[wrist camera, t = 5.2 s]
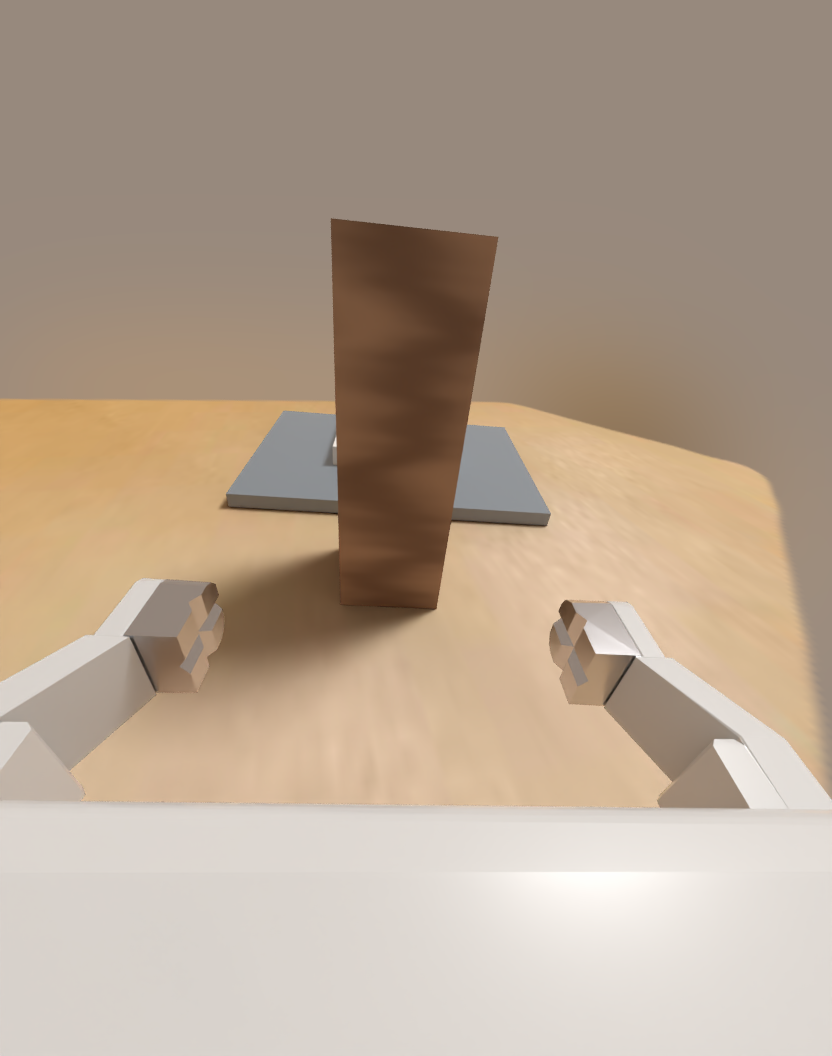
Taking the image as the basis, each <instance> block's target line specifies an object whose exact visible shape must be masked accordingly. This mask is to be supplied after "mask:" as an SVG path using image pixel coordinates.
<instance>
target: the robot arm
mask: <svg viewBox="0 0 832 1056" xmlns="http://www.w3.org/2000/svg"><path fill="white" fill-rule="evenodd" d="M218 596H219V594H218V591H217V588H216V584H213V583H209V582H196V581H182V580H168V579H166V580H161V579H148V578H142V579H140V580H138V581H137V582H135V583H134V585H133V586H132V587H131V588H130V590H129V591H128V592H127V594H126V595H125V596H124V597H123V599H122V600H121V601H120V602H119V604H118V605H117V606H116V607H115V609H114V610H113V611H112V613H111V614H110V615H109V616H108V618H107V619H106V620H105V621H104V623H103V624H102V625H101V626H100V628H99V629H98V630H97V631H96V633H95V634H94V635H85V636H83V637H81V638H80V639H78V640H76V641H74V642H72V643H71V644H69V645H67V646H65V647H63V648H62V649H60V650H58V651H56V652H54V653H52V654H51V655H49V656H47V657H45V658H43V659H42V660H40V661H38V662H36V663H34V664H33V665H31V666H29V667H27V668H25V669H24V670H22V671H20V672H18V673H16V674H15V675H13V676H11V677H9V678H7V679H6V680H4V681H2V682H0V1056H832V800H831V798H830V797H829V796H828V795H827V793H826V792H825V791H824V789H823V788H822V787H821V785H820V784H819V783H818V781H817V780H816V779H815V777H814V776H813V775H812V774H811V772H810V771H809V770H808V768H807V767H806V766H805V764H804V763H803V762H802V760H801V759H800V758H799V757H798V755H797V754H796V753H795V751H794V750H793V749H792V747H791V746H790V745H789V743H788V742H787V741H786V739H784V738H783V737H782V736H780V735H779V734H777V733H776V732H775V731H773V730H772V729H770V728H769V727H768V726H766V725H765V724H763V723H762V722H761V721H759V720H758V719H756V718H755V717H754V716H752V715H751V714H749V713H748V712H747V711H745V710H744V709H742V708H741V707H740V706H738V705H737V704H735V703H734V702H733V701H731V700H730V699H728V698H727V697H726V696H724V695H723V694H721V693H720V692H719V691H717V690H716V689H714V688H713V687H712V686H710V685H709V684H707V683H706V682H705V681H703V680H702V679H700V678H699V677H698V676H696V675H695V674H693V673H692V672H691V671H689V670H688V669H686V668H685V667H684V666H682V665H681V664H679V663H678V662H677V661H675V660H674V659H672V658H665V656H664V655H663V653H662V652H661V650H660V648H659V647H658V645H657V644H656V642H655V640H654V639H653V637H652V636H651V634H650V633H649V631H648V629H647V628H646V626H645V625H644V623H643V622H642V620H641V618H640V617H639V615H638V614H637V612H636V610H635V609H634V607H633V606H632V605H631V604H629V603H628V602H610V601H607V602H604V601H583V600H565V601H564V602H563V603H562V604H561V607H560V609H559V613H560V616H561V619H559V620H558V621H557V622H555V623H554V624H553V626H552V629H551V631H550V638H549V646H550V652H551V656H552V659H553V662H554V663H555V664H556V665H557V666H559V667H560V668H561V669H562V670H563V671H562V674H561V676H560V678H559V679H560V681H561V684H562V687H563V690H564V692H565V695H566V698H567V701H568V703H569V704H579V705H596V706H605V707H604V708H605V710H606V711H607V712H608V713H609V714H610V715H611V716H612V717H613V718H614V719H615V720H616V721H617V722H618V724H619V725H620V726H621V727H622V728H623V729H624V730H625V731H626V732H627V733H628V734H629V735H630V736H631V738H632V739H633V740H634V741H635V742H636V743H637V744H638V745H639V746H640V747H641V748H642V749H643V750H644V752H645V753H646V754H647V755H648V756H649V757H650V758H651V759H652V760H653V761H654V762H655V763H656V765H657V766H658V767H659V768H660V769H661V770H662V771H663V772H664V773H665V774H666V775H667V776H668V777H669V779H670V780H671V781H672V783H671V784H670V785H669V786H668V787H667V788H666V789H665V790H664V791H663V792H662V793H661V794H660V796H659V798H658V800H657V802H658V804H659V806H660V808H652V807H566V806H480V805H393V804H306V803H215V802H124V801H81V800H82V799H83V797H84V795H85V792H84V789H83V787H82V785H81V784H80V783H79V782H78V781H77V779H76V778H75V777H74V776H73V775H72V774H71V772H70V770H71V769H72V768H73V767H74V766H75V765H77V764H78V763H79V762H80V761H81V760H82V759H83V758H85V757H86V756H87V755H88V754H89V753H90V752H91V751H93V750H94V749H95V748H96V747H97V746H98V745H99V744H101V743H102V742H103V741H104V740H105V739H106V738H107V737H109V736H110V735H111V734H112V733H113V732H114V731H115V730H117V729H118V728H119V727H120V726H121V725H122V724H123V723H125V722H126V721H127V720H128V719H129V718H130V717H132V716H133V715H134V714H135V713H136V712H137V711H138V710H140V709H141V708H142V707H143V706H144V705H145V704H146V703H148V702H149V701H150V700H151V699H152V698H153V697H154V696H156V693H197V692H198V690H199V688H200V686H201V684H202V682H203V679H204V677H205V675H206V673H207V671H208V669H209V663H208V659H207V657H208V656H209V655H210V654H212V653H213V652H214V651H216V650H217V649H218V647H219V644H220V642H221V640H222V636H223V631H224V614H223V609H222V608H221V607H219V606H218V605H217V604H216V603H215V602H216V600H217V598H218Z"/></svg>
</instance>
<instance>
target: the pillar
mask: <svg viewBox="0 0 832 1056" xmlns="http://www.w3.org/2000/svg"><path fill="white" fill-rule="evenodd" d="M331 239H332V241H331V242H332V281H333V322H334V358H335V359H334V362H335V403H336V443H337V483H338V523H339V563H340V603H341V605H360V606H384V607H407V608H430V609H436V608H437V602H438V596H439V590H440V584H441V578H442V572H443V566H444V560H445V554H446V548H447V542H448V536H449V530H450V524H451V518H452V512H453V506H454V500H455V494H456V488H457V482H458V476H459V470H460V464H461V458H462V452H463V446H464V440H465V434H466V428H467V422H468V416H469V410H470V404H471V398H472V392H473V386H474V380H475V374H476V367H477V362H478V356H479V350H480V343H481V337H482V331H483V325H484V320H485V313H486V308H487V302H488V296H489V290H490V284H491V278H492V272H493V266H494V260H495V254H496V247H497V242H498V237H494V236H485V235H476V234H466V233H458V232H449V231H440V230H439V231H438V230H431V229H422V228H412V227H403V226H394V225H385V224H376V223H367V222H357V221H349V220H340V219H331Z"/></svg>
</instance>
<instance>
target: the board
mask: <svg viewBox="0 0 832 1056" xmlns="http://www.w3.org/2000/svg"><path fill="white" fill-rule="evenodd" d="M335 438H336V415H333V414H320V413H307V412H294V411H283V413H282V414H281V416H280V417H279V418H278V420H277V421H276V423H275V424H274V426H273V427H272V429H271V430H270V431H269V433H268V434H267V436H266V437H265V439H264V440H263V441H262V443H261V444H260V446H259V447H258V449H257V450H256V452H255V453H254V454H253V456H252V457H251V459H250V460H249V462H248V463H247V464H246V466H245V467H244V469H243V470H242V472H241V473H240V474H239V476H238V477H237V479H236V480H235V482H234V483H233V485H232V486H231V487H230V489H229V490H228V492H227V493H226V496H227V501H228V506H229V507H244V508H260V509H277V510H294V511H311V512H328V513H338V483H337V465H334V464H333V444H334V441H335ZM550 515H551V513H550V511H549V509H548V508H547V506H546V504H545V502H544V500H543V498H542V497H541V495H540V493H539V491H538V489H537V487H536V485H535V484H534V482H533V480H532V478H531V476H530V474H529V472H528V471H527V469H526V467H525V465H524V463H523V461H522V460H521V458H520V456H519V454H518V452H517V450H516V448H515V447H514V445H513V443H512V441H511V439H510V437H509V436H508V434H507V432H506V430H505V428H503V427H490V426H477V425H467V428H466V434H465V440H464V446H463V452H462V458H461V464H460V470H459V476H458V482H457V488H456V494H455V500H454V506H453V512H452V518H451V520H463V521H480V522H497V523H514V524H531V525H547V524H548V521H549V518H550Z"/></svg>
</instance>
